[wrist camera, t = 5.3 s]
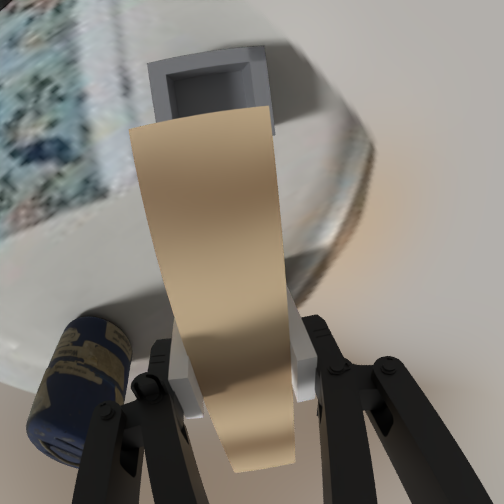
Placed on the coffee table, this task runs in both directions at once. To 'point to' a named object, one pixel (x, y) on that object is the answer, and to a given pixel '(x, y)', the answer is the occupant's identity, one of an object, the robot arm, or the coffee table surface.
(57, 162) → the coffee table surface
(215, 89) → the endcap
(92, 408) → the canister
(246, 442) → the slat
